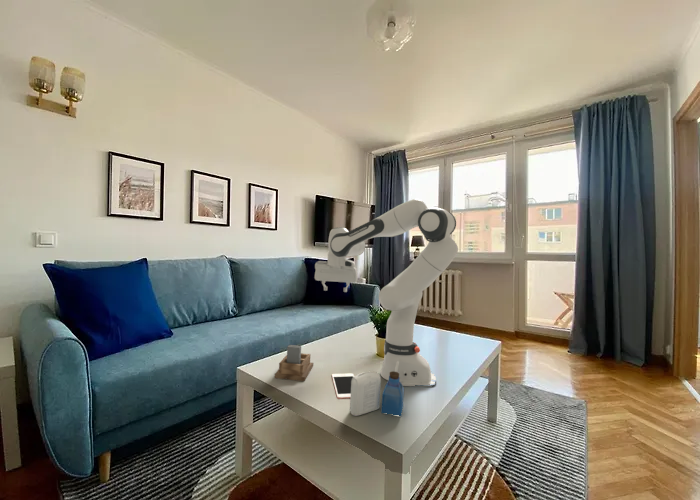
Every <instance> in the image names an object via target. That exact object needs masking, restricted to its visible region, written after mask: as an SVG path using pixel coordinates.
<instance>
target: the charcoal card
mask: <svg viewBox="0 0 700 500" xmlns="http://www.w3.org/2000/svg"><path fill="white" fill-rule="evenodd" d="M286 349H287V350H286V355H287V363H293V364H301V353H302V345H297V344H288V346H287V348H286Z"/></svg>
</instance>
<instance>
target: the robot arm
mask: <svg viewBox="0 0 700 500" xmlns="http://www.w3.org/2000/svg"><path fill="white" fill-rule="evenodd" d="M456 220H457V219H456V217H455V216H454V215H453V214H452V212H450V211H448V210H446V209H445V208H440V207H427V205H426V203H425V202H424V201H423V200H422V199H419V198H414V199H410V200H407V201H405V202H403V203H401V204H399V205H396V206H395V207H393V208H392V209H389V210H388V211H386V212H384V213H383V214H381V215H379V216H378V217H375V218H373V219H372V220H369V221H367V222H365V223H363V224H362V225H359V226H358V227H355V228H353V229H351V230H349V229H347V228H345V227H342V226H341V227H334V228H332V229H331V230H330V231H329V234H328V235H329V236H328V243H327V244H328V245H327V246H328V253H327V260H325V261H324V260H318V261H316V262H315V264H314V269H315V272H314V280H315V281H318V282H319V281H320V282H321V285H322V286H323V291H325V292H326V291H328V286H327V285H326V284H325V283H326V282H338V283H346V284H345V285H346V287H343V292H344V293H347V292H348V288H349V286H350V284H355V283H357V282H358V270H357V267H356V262H355V261H353V260H351V259H347V257H357V256H360V255H362V254H364V252H365V249H366V241H369V240H370V239H373V238H381V237H383V238H384V237H385V238H387V237H389V238H393V237H398V236H399V235H403V234H405V233H407V232H409V231H410V230H412V229H414V228H416V227H417V228H418V229H419V231H420V232H421V234H422V236H424V238H425V240H426V242H428V244H427V245H426V247H425V248H424V249H423V250H422V251H421V252H420V253H419V254H418V255H417V257H416V258H415V259H414V260H413V261H412V262H411V264H409V266H408V267H407V268H405V269H404V270H403V271H402V272H400V273H399V274H398V275H397V276H396V277H395V278H393V279H392V280H391V281H390V282H389V283H388V284H386V285H385V286H383V287H382V288H381V289H380V291H379V293H378V300H379V303H380V305H381V307H383V309H385V310H387V311H391V312H390V314H389V317H388V319H387V322H386V333H385V339H384V343H383V344H384V346H383V353H384V356H383V357H384V358H383V362H382V367H381V370H380V372H379V375H380V377H382V378H383V379H384V380H386V381H388V380H389V376H390V372H393V371H394V372H398V373H399V378H400V379H399V382H401V384H402V386H403V387H416V386H415V385H430V384H434V383H435V382H433V381H431V380H436V381H437V377H436V375H435V373H433V372H432V370H431V366H430V363H429V362H428V360H427V359H426V358H425V357H424V356H423V355H421V354H420V352H421V349H420V346H419V345H418V344H417V343H416V342H414V333H415V332H414V329H415V321H416V317H417V314H418V309H419V305H420V302H421V300H422V298H423V295H424V294H423V291H425V290H426V289H427V288H429V287H430V286H431V285H432V284H433V283H434V282H435V281H436V280H437V279H438V278H439V277H440V276H441V275H442V274H443V272H445V270H446V269H447V268H448V267H449V266H450V264H451V263H452V262H453V260H454V259H455V258H456V256H457V254H458V252H459V247H458V245H457V242H455V240H454V239H453V238H452V237H451V234H453V232H454V231H455V230H456V227H457V221H456ZM431 372H432V373H433V374H432V373H431ZM434 375H435V376H434Z"/></svg>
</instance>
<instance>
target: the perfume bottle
mask: <svg viewBox="0 0 700 500" xmlns="http://www.w3.org/2000/svg"><path fill="white" fill-rule="evenodd" d="M399 379H400V378H399V373H398V372H394V371H393V372H390V376H389V380H387V382H386V384H385V386H384V388H383V391H382V395H381V397H382V398H381V410H380V411H381V414H383V413H387V414H386V415H388V414H393V415H399V416H401V417H402V414H401V413H403V410H402V409H403V408H404V398H405V396H404V395H405V388H404V386H402V384H401V382H399ZM393 415H392V416H393Z"/></svg>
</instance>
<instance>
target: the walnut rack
mask: <svg viewBox="0 0 700 500" xmlns="http://www.w3.org/2000/svg"><path fill="white" fill-rule="evenodd" d="M313 367H314V362H311V353H302V352H301V364H293V363H287V354H286V355H285V356H284V358H282V359H281V361H280V362H279V363H278V369H277V371H276V372H275V373H274V379H280V380H281V379H282V380H291V381H299V382H305V381H306V379H307V378H308V376H309V374H310V372H311V371H312V370H313Z"/></svg>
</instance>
